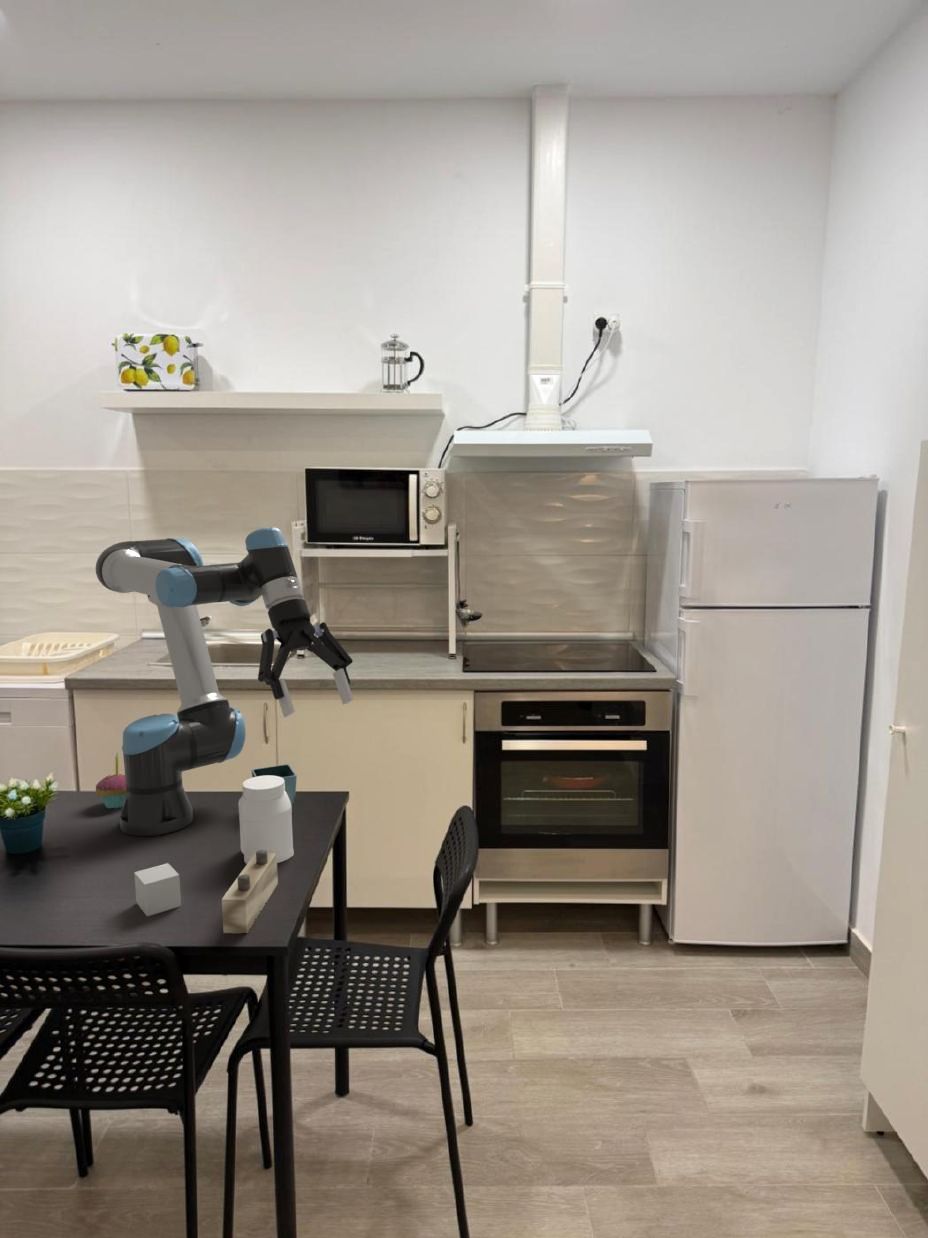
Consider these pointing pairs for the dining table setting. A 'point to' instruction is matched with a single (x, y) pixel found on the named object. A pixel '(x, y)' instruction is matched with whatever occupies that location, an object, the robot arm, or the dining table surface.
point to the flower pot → (284, 773)
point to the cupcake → (112, 789)
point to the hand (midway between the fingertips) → (319, 708)
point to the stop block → (249, 892)
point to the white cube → (157, 889)
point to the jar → (265, 818)
